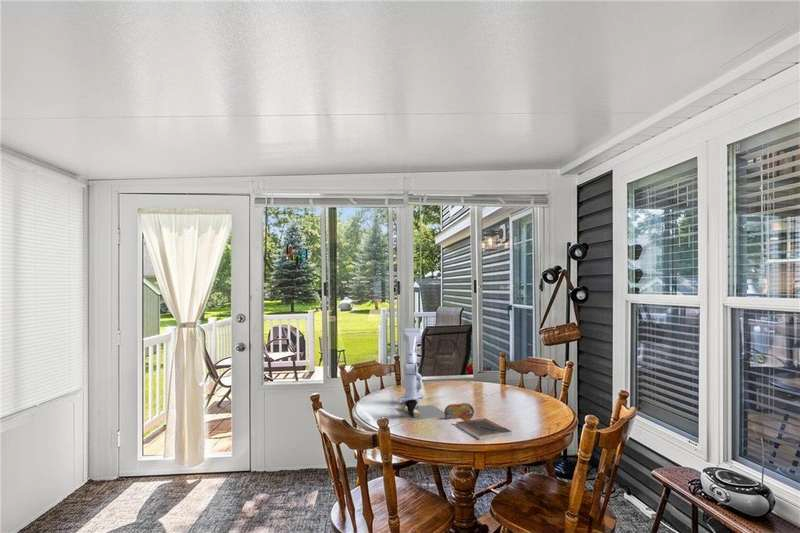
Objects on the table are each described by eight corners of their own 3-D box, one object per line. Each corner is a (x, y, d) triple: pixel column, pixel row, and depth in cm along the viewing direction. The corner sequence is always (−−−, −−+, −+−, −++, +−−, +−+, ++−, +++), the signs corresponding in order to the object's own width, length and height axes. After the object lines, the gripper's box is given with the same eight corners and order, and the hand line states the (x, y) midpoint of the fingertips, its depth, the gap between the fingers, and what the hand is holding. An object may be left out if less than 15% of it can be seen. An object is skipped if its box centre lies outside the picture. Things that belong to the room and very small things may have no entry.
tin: (445, 422, 217) (445, 405, 217) (443, 421, 220) (443, 403, 220) (474, 420, 221) (474, 403, 221) (471, 418, 224) (471, 401, 224)
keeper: (414, 407, 239) (414, 400, 239) (418, 407, 239) (418, 400, 239) (413, 412, 230) (413, 404, 230) (418, 412, 230) (418, 404, 230)
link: (400, 408, 236) (400, 402, 236) (407, 407, 237) (407, 401, 237) (413, 417, 220) (413, 410, 220) (421, 416, 222) (421, 409, 222)
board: (394, 411, 237) (394, 408, 237) (432, 407, 244) (432, 404, 244) (409, 423, 216) (409, 420, 216) (449, 418, 223) (449, 415, 223)
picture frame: (511, 436, 199) (485, 422, 219) (511, 430, 199) (485, 417, 219) (479, 441, 193) (456, 426, 213) (479, 435, 193) (456, 421, 213)
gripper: (402, 391, 216) (403, 419, 215) (427, 387, 223) (427, 414, 223) (395, 388, 222) (395, 415, 221) (419, 384, 229) (419, 411, 229)
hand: (410, 415), depth 222 cm, fingers closed
